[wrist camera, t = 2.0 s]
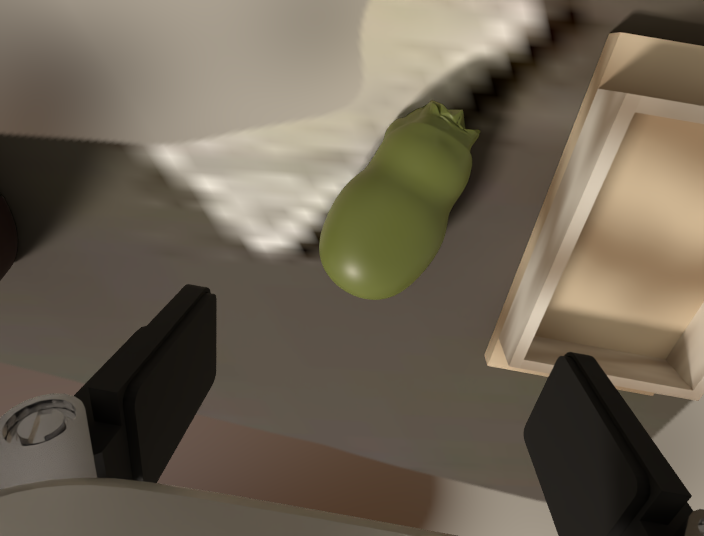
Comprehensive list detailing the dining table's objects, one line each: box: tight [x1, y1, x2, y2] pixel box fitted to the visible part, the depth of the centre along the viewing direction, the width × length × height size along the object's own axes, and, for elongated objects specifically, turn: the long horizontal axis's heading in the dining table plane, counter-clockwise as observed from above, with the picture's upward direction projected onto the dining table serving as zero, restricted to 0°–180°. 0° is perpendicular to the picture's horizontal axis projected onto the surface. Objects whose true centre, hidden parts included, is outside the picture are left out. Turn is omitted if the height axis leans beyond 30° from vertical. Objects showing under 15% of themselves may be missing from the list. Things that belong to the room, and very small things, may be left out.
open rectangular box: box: [485, 32, 704, 401], centre depth 20 cm, size 18×10×4 cm, turn 172°
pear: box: [319, 100, 480, 300], centre depth 20 cm, size 6×5×10 cm
